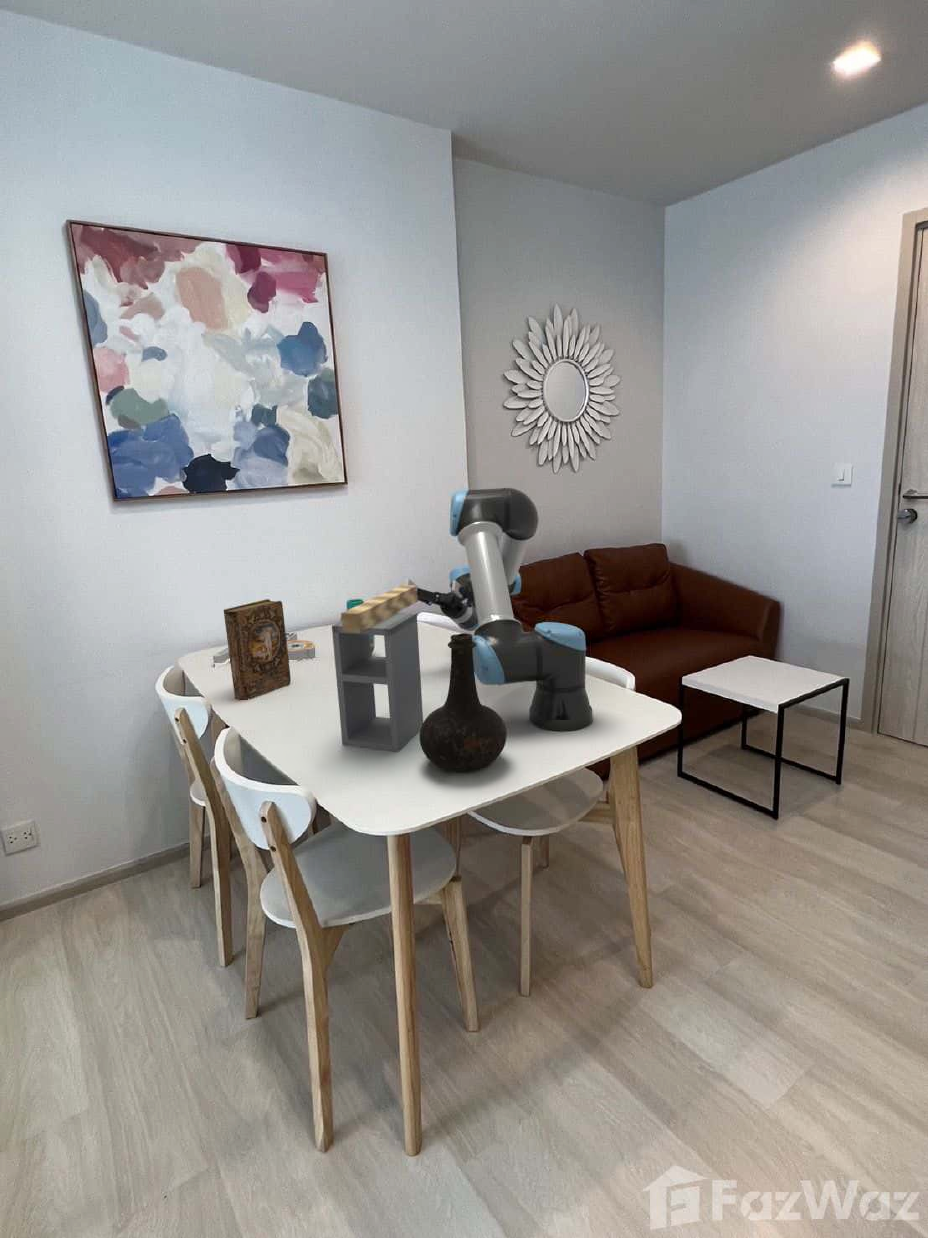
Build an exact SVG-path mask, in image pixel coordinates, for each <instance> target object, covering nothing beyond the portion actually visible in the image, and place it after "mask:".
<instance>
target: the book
mask: <svg viewBox="0 0 928 1238" xmlns="http://www.w3.org/2000/svg"><path fill="white" fill-rule="evenodd" d="M284 614H285V613H284V607H283V602H282V600H277V601H272V600H270V599H269V598H267V599H262V600H259V601H255V602H250V603H246V604H241V605H237V606H233V607H229V608H225V609H223V616H224V623H225V630H226V631H225V632H226V640H227V647H228V648H229V656H230V662H229V663H230V669H231V677H232V678H231V679H232V686H233V687H232V688H233V692H234V693H233V694H234V699H235V700H236V699H239V700H248V699H250V700H253V699H255V697H256V698H258V697H261V696H263V695H265V694H268V692H269V693H270V692H273V690H274V691H276V690H275V689H277V690H279V689H282V688H283V687H286V686H288V685H290V684H291V677H292V676H291V667H290V662H289V658H288V649H287V641H286V632H287V631H286V626H285V624H286V623H285V615H284ZM262 694H263V695H262ZM260 695H261V696H260ZM257 696H258V697H257ZM252 698H253V699H252ZM239 700H238V701H239ZM248 701H249V700H248Z"/></svg>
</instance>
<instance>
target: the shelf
mask: <svg viewBox="0 0 928 1238" xmlns="http://www.w3.org/2000/svg"><path fill="white" fill-rule="evenodd" d="M418 629H419V628H418V613H413V612H411V613H410V612H397V613H395V614H394V615H392V616H390V617H388V618H386V619H384V620H383V621H381V622H379V623H377V624H375V625H373V626H371V627H370V628H368V629H366V630H364V631H362V632H360V633H355V632H343V629H342V621H341V620H340V621H338V622H337V623H334V624H333V625H331V631H332V644H333V654H334V664H335V667H334V668H335V676H336V678H335V679H336V687H337V698H338V699H337V700H338V709H339V710H338V711H339V722H340V732H341V744H342V746H347V747H355V748H363V749H371V750H379V751H387V752H393V753H394V752H395V753H399V752H400V751H401V750H402V749H403V748H404V747H405V746H407V744H408V743H409V742H410V741H412V739H413V738H414V737H415V736H416V735H417V734H419V733H420V730H421V727H422V724H423V722H424V714H423V713H424V712H423V697H422V682H421V681H422V680H421V664H420V663H421V661H420V660H421V659H420V648H419V647H420V646H419V630H418ZM370 635H374V636H383V641H384V654H385V656H377V655H372V654H371V642H370ZM375 684H376V685H385V686H387V696H388V710H389V713H388V714H389V717H384V716H383V717H382V716H377V710H376V695H375Z"/></svg>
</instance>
